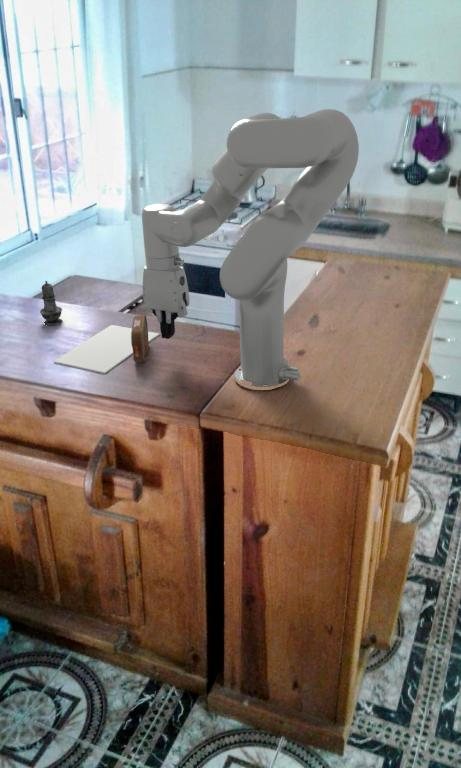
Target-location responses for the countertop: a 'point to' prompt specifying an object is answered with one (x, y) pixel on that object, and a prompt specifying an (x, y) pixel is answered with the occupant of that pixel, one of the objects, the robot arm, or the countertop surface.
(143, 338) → the tin
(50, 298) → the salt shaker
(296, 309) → the countertop surface
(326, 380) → the countertop surface
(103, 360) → the felt mat
